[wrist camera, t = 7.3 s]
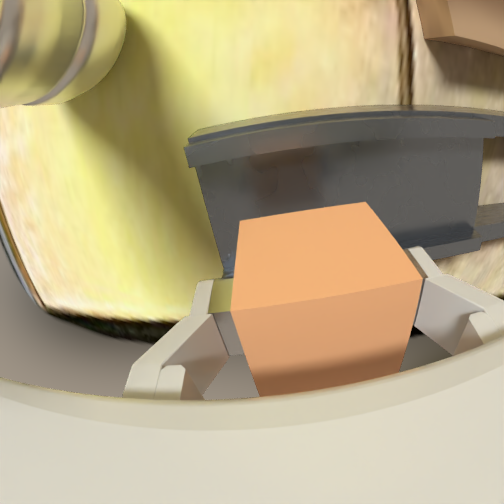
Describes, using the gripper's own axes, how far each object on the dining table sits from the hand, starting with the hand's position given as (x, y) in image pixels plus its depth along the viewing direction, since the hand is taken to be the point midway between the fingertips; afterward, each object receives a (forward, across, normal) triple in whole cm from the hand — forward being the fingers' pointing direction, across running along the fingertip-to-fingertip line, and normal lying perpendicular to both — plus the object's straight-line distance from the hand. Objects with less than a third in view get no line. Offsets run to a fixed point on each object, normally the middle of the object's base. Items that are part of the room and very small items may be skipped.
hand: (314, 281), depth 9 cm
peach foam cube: (+1, 0, 0) cm, 1 cm away
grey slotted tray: (+8, -8, 0) cm, 11 cm away
